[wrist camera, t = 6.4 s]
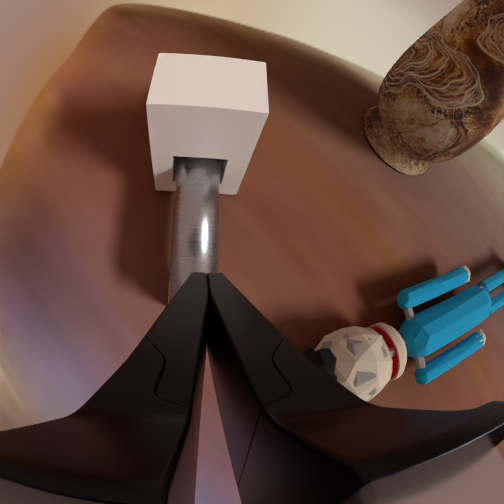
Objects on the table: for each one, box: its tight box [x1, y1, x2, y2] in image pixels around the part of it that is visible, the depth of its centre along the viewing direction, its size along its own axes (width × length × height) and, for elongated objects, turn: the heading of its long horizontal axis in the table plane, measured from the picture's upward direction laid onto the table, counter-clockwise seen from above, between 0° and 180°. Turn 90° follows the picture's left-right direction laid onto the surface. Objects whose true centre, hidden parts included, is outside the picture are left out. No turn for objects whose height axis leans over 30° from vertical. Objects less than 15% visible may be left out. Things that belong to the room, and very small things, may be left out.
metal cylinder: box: [168, 156, 221, 304], centre depth 21 cm, size 16×3×5 cm, turn 0°
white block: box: [146, 53, 269, 195], centre depth 20 cm, size 4×6×10 cm, turn 90°
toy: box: [303, 265, 504, 402], centre depth 23 cm, size 8×6×30 cm
